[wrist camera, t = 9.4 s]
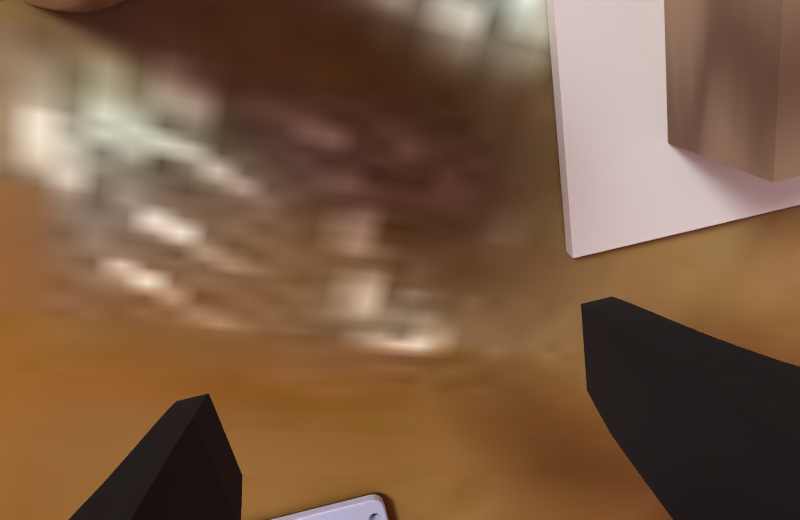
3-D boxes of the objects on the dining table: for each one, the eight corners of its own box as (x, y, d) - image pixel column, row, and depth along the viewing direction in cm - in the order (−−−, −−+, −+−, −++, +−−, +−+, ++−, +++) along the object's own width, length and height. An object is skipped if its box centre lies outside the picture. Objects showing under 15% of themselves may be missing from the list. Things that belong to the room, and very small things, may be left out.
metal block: (806, 107, 20) (951, 136, 15) (667, 143, 20) (773, 182, 15) (817, -54, 18) (989, -76, 13) (663, -16, 18) (783, -24, 13)
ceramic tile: (868, 180, 22) (882, 185, 22) (566, 252, 22) (572, 258, 21) (925, -203, 17) (945, -210, 17) (536, -123, 17) (544, -127, 16)
